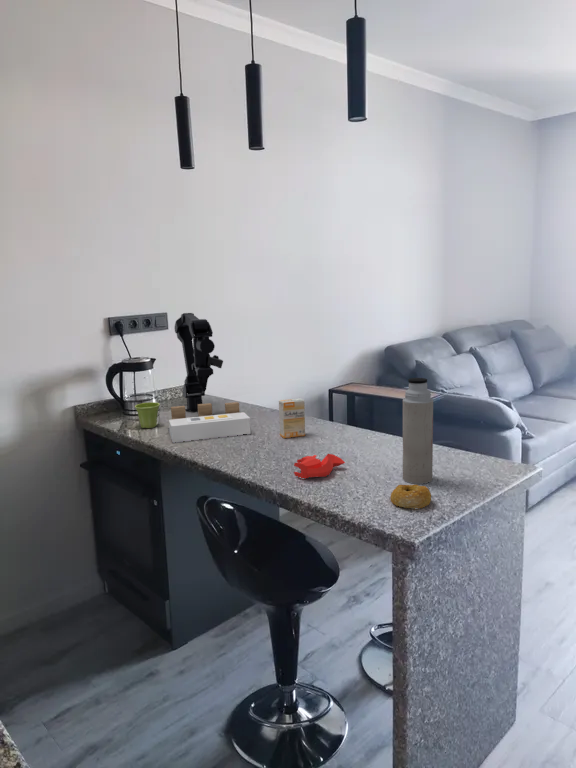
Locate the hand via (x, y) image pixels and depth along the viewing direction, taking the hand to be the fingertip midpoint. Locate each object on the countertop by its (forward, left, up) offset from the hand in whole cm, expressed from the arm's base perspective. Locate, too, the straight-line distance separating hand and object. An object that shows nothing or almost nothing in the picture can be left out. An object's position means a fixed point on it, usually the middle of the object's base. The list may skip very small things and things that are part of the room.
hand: (203, 389), depth 233 cm
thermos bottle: (+103, -18, -12) cm, 105 cm away
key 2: (+20, -4, -11) cm, 23 cm away
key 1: (+6, -19, -11) cm, 23 cm away
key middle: (+12, -11, -11) cm, 19 cm away
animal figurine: (+77, -28, -12) cm, 83 cm away
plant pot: (-10, -21, -12) cm, 26 cm away
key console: (+17, -14, -12) cm, 25 cm away
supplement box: (+47, -2, -12) cm, 49 cm away
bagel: (+109, -34, -12) cm, 114 cm away
